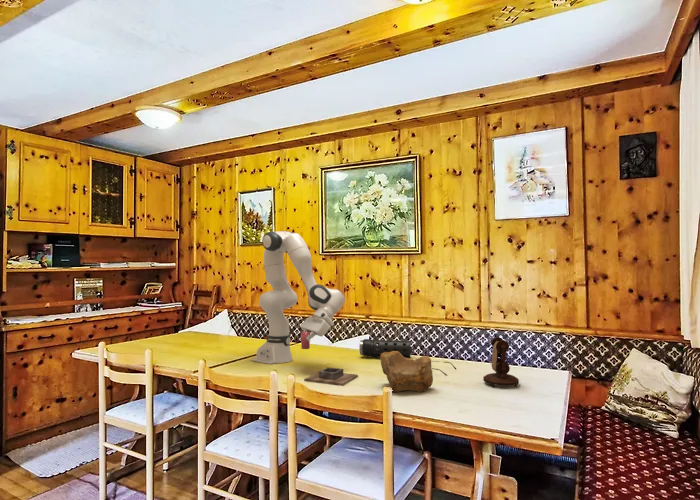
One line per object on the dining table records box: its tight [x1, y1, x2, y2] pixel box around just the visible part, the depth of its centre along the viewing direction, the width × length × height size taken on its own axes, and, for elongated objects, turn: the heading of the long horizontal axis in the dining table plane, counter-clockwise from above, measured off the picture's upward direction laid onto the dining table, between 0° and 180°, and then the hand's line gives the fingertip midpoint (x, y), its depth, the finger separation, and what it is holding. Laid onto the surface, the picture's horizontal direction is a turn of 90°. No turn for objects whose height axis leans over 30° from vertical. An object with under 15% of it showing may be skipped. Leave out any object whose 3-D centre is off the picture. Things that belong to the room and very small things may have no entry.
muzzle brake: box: [358, 338, 412, 359], centre depth 247 cm, size 10×28×10 cm, turn 78°
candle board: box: [303, 367, 359, 387], centre depth 206 cm, size 20×16×4 cm
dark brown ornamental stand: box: [482, 336, 520, 388], centre depth 194 cm, size 15×15×20 cm
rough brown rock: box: [379, 351, 434, 393], centre depth 187 cm, size 23×17×15 cm
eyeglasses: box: [431, 360, 457, 376], centre depth 220 cm, size 16×19×5 cm
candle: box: [300, 330, 311, 350], centre depth 216 cm, size 4×4×9 cm
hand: (304, 339), depth 216 cm, fingers closed on candle, 4 cm apart
